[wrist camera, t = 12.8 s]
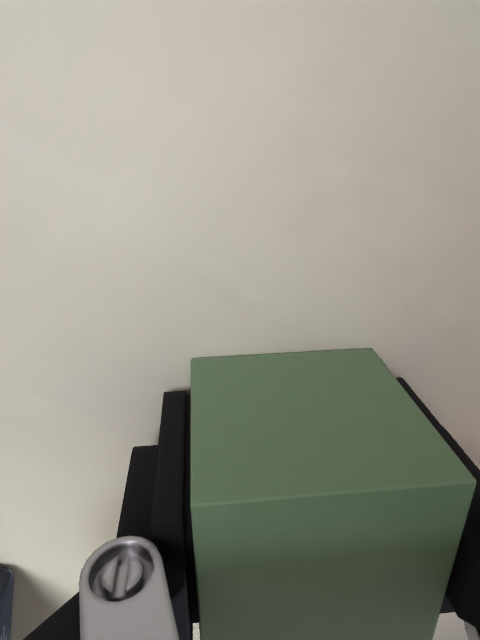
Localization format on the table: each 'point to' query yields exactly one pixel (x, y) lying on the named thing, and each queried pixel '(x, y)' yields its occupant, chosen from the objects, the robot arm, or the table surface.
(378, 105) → the table surface
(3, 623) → the box
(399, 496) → the block
